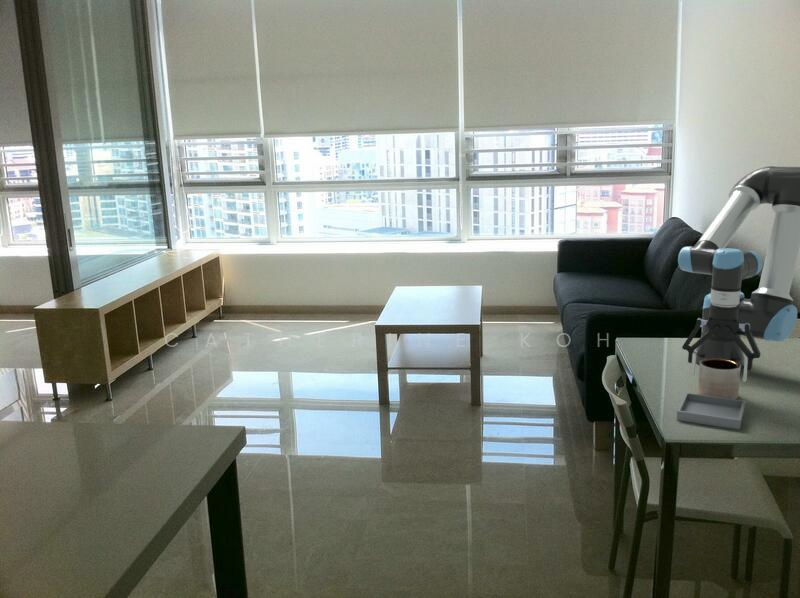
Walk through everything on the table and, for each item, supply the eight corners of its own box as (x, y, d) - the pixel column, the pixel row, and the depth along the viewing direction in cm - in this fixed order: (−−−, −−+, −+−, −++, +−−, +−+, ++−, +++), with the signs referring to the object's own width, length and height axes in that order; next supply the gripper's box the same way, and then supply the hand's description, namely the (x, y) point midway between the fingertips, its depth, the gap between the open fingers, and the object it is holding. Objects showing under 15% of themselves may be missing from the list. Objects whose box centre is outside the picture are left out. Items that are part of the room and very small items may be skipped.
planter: (743, 403, 206) (745, 370, 204) (701, 401, 208) (704, 369, 206) (732, 389, 217) (735, 358, 214) (693, 388, 218) (695, 357, 216)
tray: (685, 400, 209) (685, 392, 208) (744, 409, 202) (745, 400, 201) (676, 419, 196) (677, 411, 195) (739, 429, 189) (740, 420, 188)
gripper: (675, 302, 209) (670, 374, 213) (773, 311, 197) (766, 387, 202) (679, 297, 215) (674, 367, 220) (775, 305, 204) (767, 379, 208)
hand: (718, 377), depth 211 cm, fingers open, 13 cm apart
